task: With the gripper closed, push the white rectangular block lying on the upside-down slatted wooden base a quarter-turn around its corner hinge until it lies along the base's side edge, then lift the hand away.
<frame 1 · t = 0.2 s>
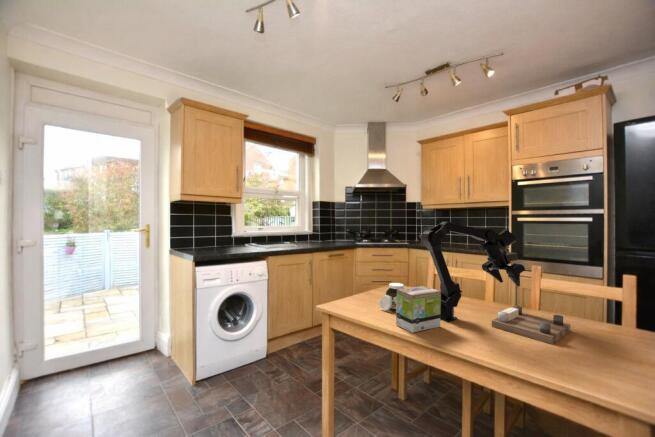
hand: (510, 284, 129), 14 cm above the table, tool tilted 30°, fingers open, 9 cm apart
slatted wooden base: (530, 328, 114), on the table
spread jar: (393, 309, 138), on the table
white rectangular block: (507, 314, 118), point 4 cm above the table, hinge at 0.0°
tea box: (418, 326, 117), on the table
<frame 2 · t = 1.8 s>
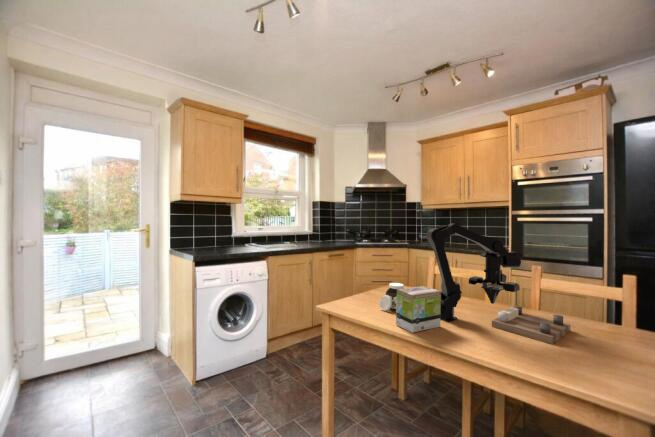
hand: (492, 303, 125), 6 cm above the table, tool pointing down, fingers closed
nothing on the table moved.
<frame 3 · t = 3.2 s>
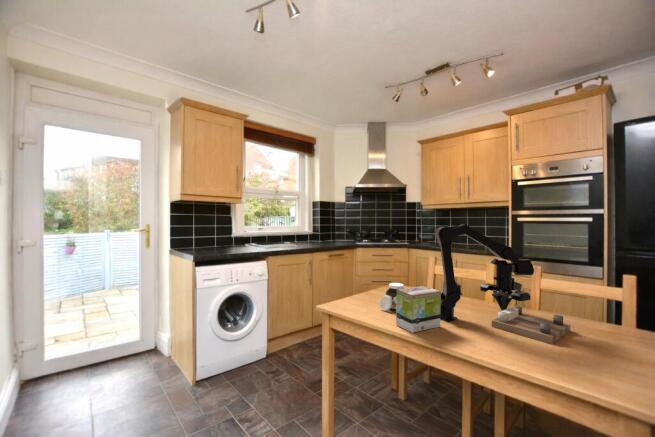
hand: (503, 312, 122), 4 cm above the table, tool pointing down, fingers closed
white rectangular block: (507, 314, 118), point 4 cm above the table, hinge at 0.0°, touching gripper
everything else where it was.
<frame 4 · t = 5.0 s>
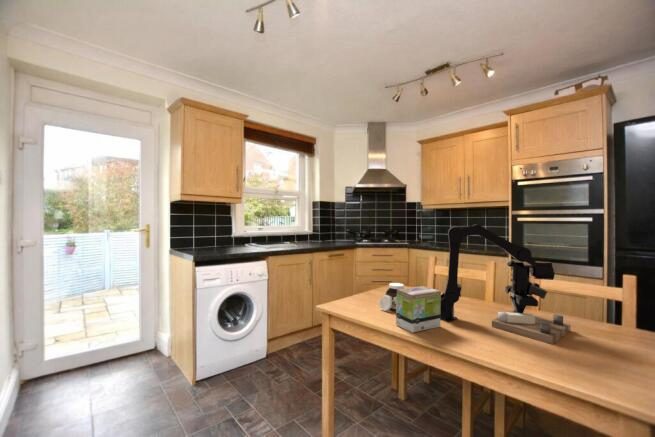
hand: (520, 316, 116), 4 cm above the table, tool pointing down, fingers closed
white rectangular block: (515, 317, 115), point 4 cm above the table, hinge at -48.8°, touching gripper
everything else where it was.
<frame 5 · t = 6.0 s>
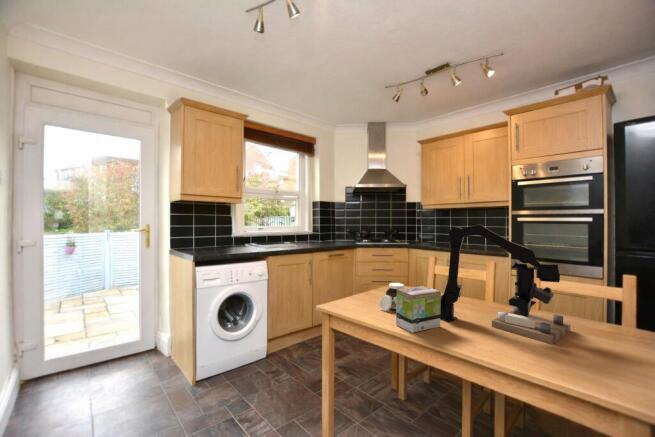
hand: (525, 319, 113), 4 cm above the table, tool pointing down, fingers closed
white rectangular block: (516, 319, 113), point 4 cm above the table, hinge at -79.9°, touching gripper
everything else where it was.
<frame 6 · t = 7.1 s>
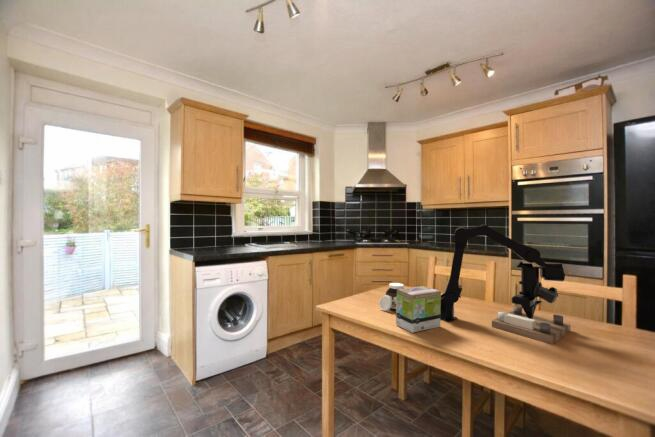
hand: (530, 319, 113), 4 cm above the table, tool pointing down, fingers closed
white rectangular block: (515, 320, 112), point 4 cm above the table, hinge at -90.2°
everything else where it was.
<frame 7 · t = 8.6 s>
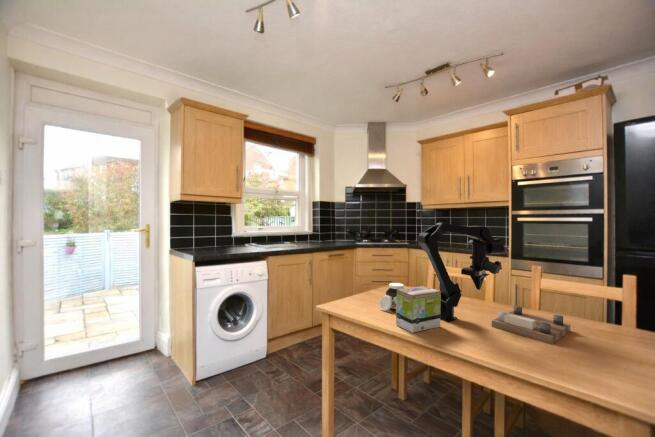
hand: (478, 289, 128), 12 cm above the table, tool pointing down, fingers closed
nothing on the table moved.
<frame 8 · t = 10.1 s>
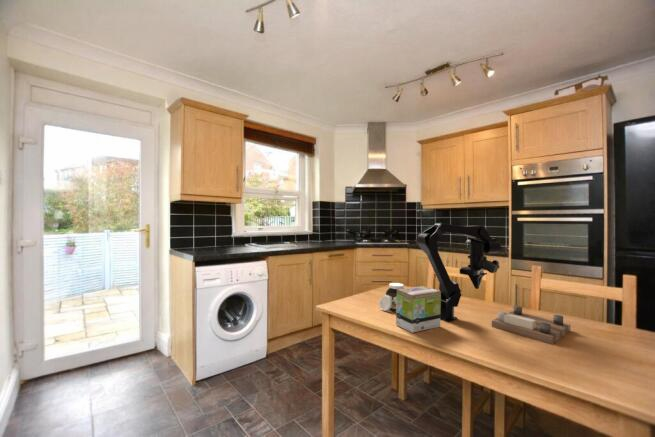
hand: (476, 288, 129), 12 cm above the table, tool pointing down, fingers closed
nothing on the table moved.
at the end: white rectangular block at -90° (first picture: +0°) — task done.
